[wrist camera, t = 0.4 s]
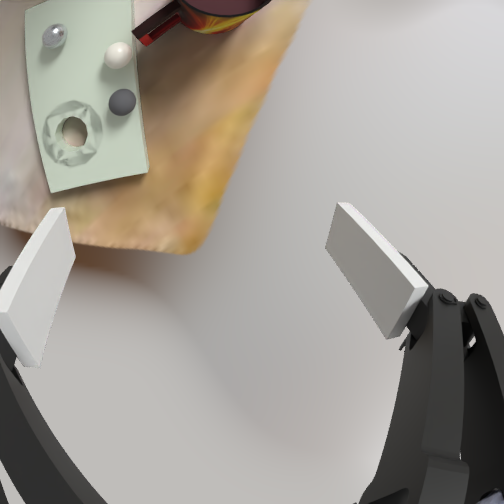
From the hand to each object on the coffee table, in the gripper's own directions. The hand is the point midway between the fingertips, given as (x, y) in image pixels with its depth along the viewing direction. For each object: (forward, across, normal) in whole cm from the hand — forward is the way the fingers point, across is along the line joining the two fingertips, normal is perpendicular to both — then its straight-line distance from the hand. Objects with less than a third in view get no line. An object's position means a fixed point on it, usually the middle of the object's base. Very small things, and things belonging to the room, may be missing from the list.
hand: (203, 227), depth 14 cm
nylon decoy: (+23, -8, +9) cm, 26 cm away
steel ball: (+23, -17, +13) cm, 31 cm away
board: (+27, -14, +6) cm, 31 cm away
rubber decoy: (+23, -8, +4) cm, 24 cm away
